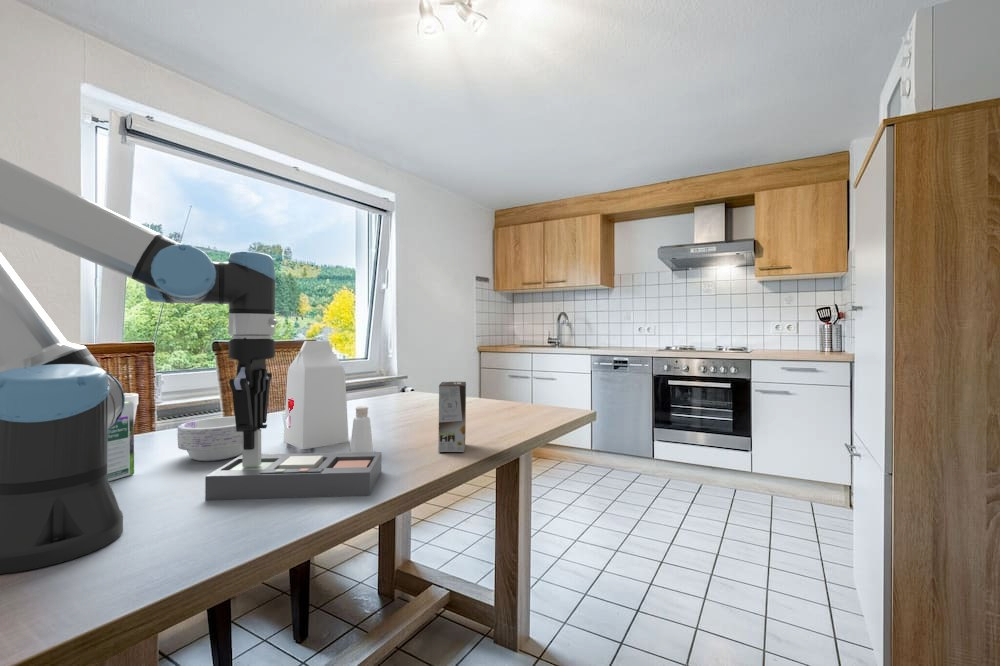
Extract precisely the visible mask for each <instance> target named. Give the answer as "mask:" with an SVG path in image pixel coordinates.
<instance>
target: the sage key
mask: <svg viewBox="0 0 1000 666" xmlns="http://www.w3.org/2000/svg"><path fill="white" fill-rule="evenodd" d="M272 463H274V462H261V465H260V466H258V467H242V463H240V464H238V465H237V466H235V467H234V468H232V469H230V470H263V469H266V468H267V467H268V466H270V465H271V464H272Z"/></svg>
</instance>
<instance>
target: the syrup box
mask: <svg viewBox="0 0 1000 666" xmlns="http://www.w3.org/2000/svg"><path fill="white" fill-rule="evenodd" d="M134 474H135V422H134V403H133V402H130V401H125V405H124V409H123V412H122V415H121V417H120V418H119V420H118V421H117V423H116V424H115V425H114V426H113V427H112V428H111V429H110V430H109V431H108V452H107V478H108V481H109V482H112V481H115V480H119V479H122V478H125V477H128V476H132V475H134Z"/></svg>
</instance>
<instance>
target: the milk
mask: <svg viewBox="0 0 1000 666" xmlns="http://www.w3.org/2000/svg"><path fill="white" fill-rule="evenodd" d="M286 376H287V377H286V389H285V390H286V394H285V407H284V408H285V409H284V421H285V420H286V419H287V417H288V415H290V416H291V427H290V428H289V429H288V428H287V426H286V423H285V422H284V426H283V427H284V429H283V442H284V443H286V444H288V445H291V446H293V447H296V448H297V449H300V450H308V449H315V448H319V447H320V448H321V447H324V446H325V447H326V446H331V445H338V444H341V443H347V442H348V441H349V440H350V439H349V421H348V407H347V406H348V405H347V403H348V402H347V401H348V400H347V387H346V385H347V384H346V371H345V368H344V366H343V364H342V363H341V362H340V359H339V358H338V357H337V356H336V354H335V352H333V348H332V346H331V343H330V341H329V340H304V342H303V344H302V346H301V348H300V349H299V352H298V353H297V355H296V356H295V358H294V359H293V360H292V362H291V363H290V365H289V367H288V369H287V374H286ZM290 398H293V399H294V406H293V409H292V410H291V411H290V413H288V412H289V410H290V408H289V410H288V399H290ZM348 443H349V442H348Z"/></svg>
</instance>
